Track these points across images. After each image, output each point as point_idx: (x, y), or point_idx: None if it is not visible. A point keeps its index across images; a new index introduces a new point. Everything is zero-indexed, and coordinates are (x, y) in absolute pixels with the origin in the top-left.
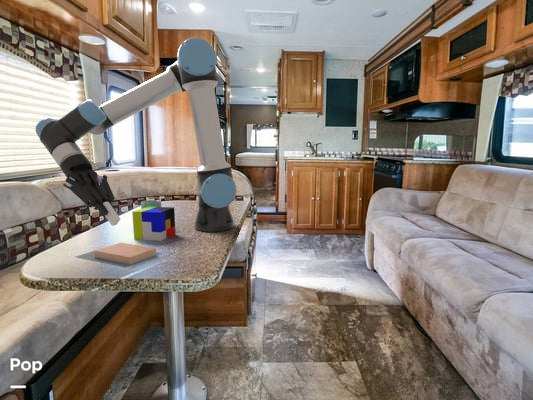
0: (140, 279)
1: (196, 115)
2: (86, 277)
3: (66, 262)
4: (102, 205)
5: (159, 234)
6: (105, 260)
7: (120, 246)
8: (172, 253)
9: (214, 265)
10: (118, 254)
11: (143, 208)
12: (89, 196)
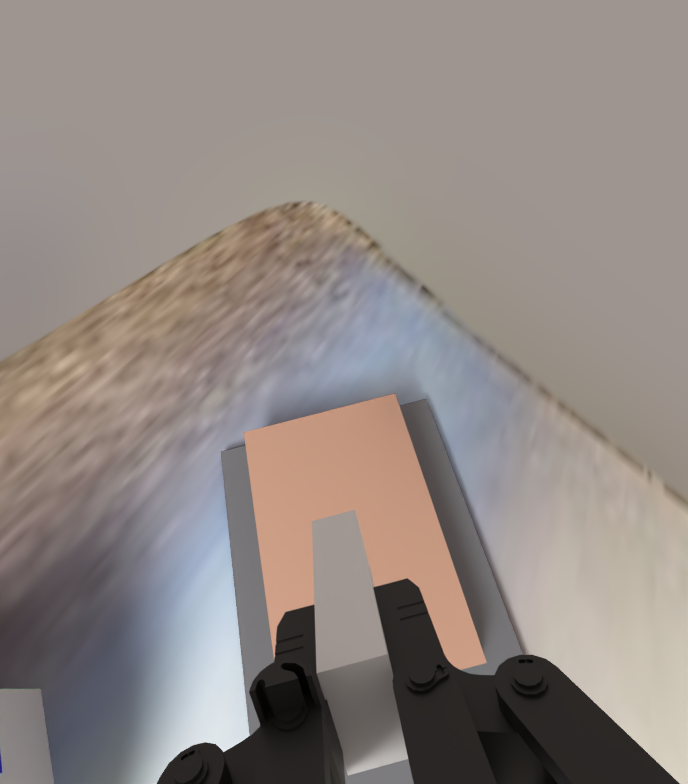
0: (430, 291)
1: None
2: (575, 425)
3: None
4: (407, 655)
5: (6, 701)
6: (453, 554)
7: None
8: (184, 441)
9: (211, 249)
10: (413, 471)
11: None
12: (595, 749)
